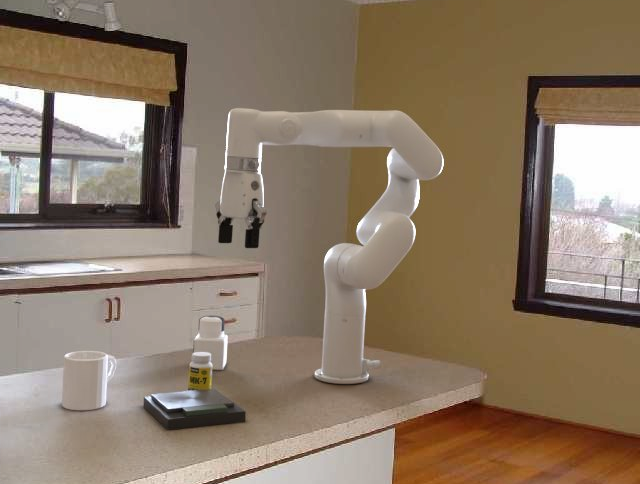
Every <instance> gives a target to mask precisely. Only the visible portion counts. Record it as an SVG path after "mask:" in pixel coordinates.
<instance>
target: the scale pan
mask: <svg viewBox="0 0 640 484" xmlns="http://www.w3.org/2000/svg"><path fill="white" fill-rule="evenodd" d="M150 396H151V398H152V399H153V400H154V401H155V402H156V403H157V404H158V405H160V406H161V407H162V408H163V409H164V410H165V411H166V412H167V413H174V412H182V411H183V408H188V407H199V406H209V405H219V404H224V405H225V406H227V407H234V403H235V401H233V400H231V399H230V398H228V397H227V396H226V395H224V394H223V393H222V392H220V391H219V390H217V389H216V388H211V389H204V390H193V391H188V390H182V391H171V392H161V393H151V395H150Z"/></svg>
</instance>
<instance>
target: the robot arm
mask: <svg viewBox="0 0 640 484" xmlns="http://www.w3.org/2000/svg"><path fill="white" fill-rule="evenodd" d="M263 145H264V146H278V147H279V146H291V145H293V146H313V147H321V148H391V150H389V153H388V155H387V159H386V166H387V173H388V184H387V187H386V189H385V190H384V192H383V193H382V195H381V196H380V198H379V199H378V200H377V201H376V202H375V203H374V205H373V206H372V207H371V208H370V209H369V210H368V211H367V212H366V214H365V215H364V216H363V217H362V219H361V220H360V221H359V222H358V225H357V226H356V232H355V235H356V237H357V240H358V242H359V243H360V244H361V245H360V244H355V243H349V242H343V243H338V244H335V245H334V246H332V247H331V248H330V249H329V250H328V251H327V253H326V254H325V257H324V260H323V276H324V277H323V278H324V286H325V304H324V305H325V306H324V319H323V323H324V324H323V337H322V355H321V356H322V357H321V368H318V369H316V370H315V371H314V379H317V380H318V381H320V382H323V383H329V384H336V385H337V384H338V385H355V384H361V383H365V382H366V381H369V373H368V371H369V370H370V369H373V370H374V369H375V370H376V369H381V367H382V363H381V361H380V359H377V360H370V359H366V358H364V345H365V329H366V327H365V326H366V313H367V296H366V291H370V290H375V289H376V288H378V287H379V286H381V285H382V284H383V283H384V282H385V281H386V280H387V279H388V277H389V276H390V275H391V274H392V272H394V270H395V269H396V268H397V266H399V264H400V263H401V261H402V260H403V259H404V258H405V257H406V256H407V254H408V253H409V252H410V250H411V249H412V247H413V244H414V242H415V238H416V227H415V224H414V223H413V221H412V220H411V216H412V215H413V214H414V212H415V211H416V209H417V207H418V205H419V200H420V181H431V180H433V179H435V178H437V177H438V176H439V175H440V174H441V173H442V170H443V167H444V156H443V153H442V152H441V150H440V149H439V147H438V146H437V144H436V143H435V142H434V141H433V140H432V139H431V138H430V136H428V135H427V133H426V132H425V131H424V130H423V129H422V128H421V126H419V125H418V124H417V122H415V120H414V119H412V118H411V117H410V115H409V114H407V113H405V112H403V111H401V110H395V109H393V110H364V109H363V110H359V109H357V110H356V109H355V110H354V109H353V110H351V109H324V110H317V111H302V112H301V111H300V112H299V111H297V112H294V111H293V112H292V111H291V112H290V111H287V110H272V111H271V110H270V111H262V110H260V109H256V108H255V109H254V108H244V107H236V108H232V109H231V110H230V111H229V113H228V117H227V132H226V146H225V147H226V148H225V149H226V150H225V164H224V175H223V180H222V184H221V185H222V186H221V193H220V200H219V201H217V202H216V203H215V205H214V206H215V211H216V213H215V215H216V218H217V224H218V239H217V242H218V244H232V243H233V232H234V231H233V230H234V225H233V224H232V223H233V221H234V220H235V219H236V220H244V222H245V224H246V227H247V228H246V229H245V236H244V248H245V249H258V248H259V246H260V230H262V228H263V224H264V223H265V219H266V216H267V214H268V210H267V208H266V207H265V206H264V204H265V203H264V201H265V200H264V197H265V196H264V180H263V174H262V173H261V169H262V167H261V166H262V153H263Z"/></svg>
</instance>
